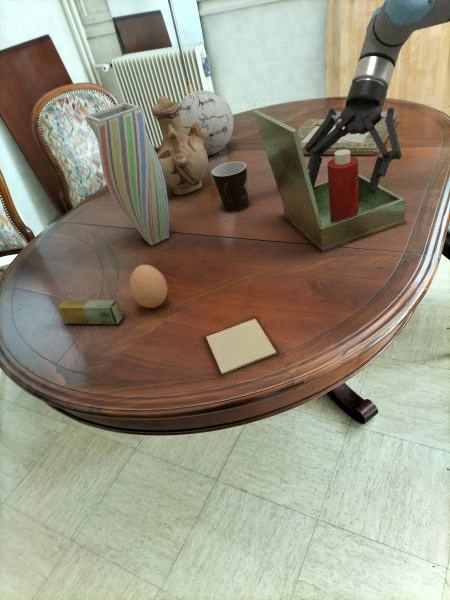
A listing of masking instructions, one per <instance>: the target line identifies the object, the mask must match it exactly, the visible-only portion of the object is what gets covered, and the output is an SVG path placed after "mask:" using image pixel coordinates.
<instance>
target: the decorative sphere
mask: <svg viewBox="0 0 450 600" xmlns="http://www.w3.org/2000/svg"><path fill="white" fill-rule="evenodd" d="M179 101H180V102H179V103H178V107H179V114H180V118H181V122H182V126H183V129H184V132H185V134H186V135H188V134H189V132H190V127H191V125H192V124H193V123H196V122H197V123H199V124H200V126H201V127H202V128H204V129H206V130H211V131H212V134H210V135H209V136H208V137H207V138H206V139H205V141H204V148H205V150H206V153H207V157H208V156H212V155H216V154H218V153H219V152H221V151H222V150H223V149H224V148H225V147H226V146H227V145H228V144H229V142H230V140H231V138H232V136H233V132H234V128H235V127H234V125H235V124H234V116H233V112H232V109H231V108H230V106H229V104H228V102H227V101H226V100H225V99H224V98H223V97H222V96H221V95H219V94H217V92H214V91H211V90H205V89H204V90H203V89H202V90H201V89H200V90H195V91H193V92H190V93H187V95H185V96H184V97H183V98H182V99H181V100H179Z"/></svg>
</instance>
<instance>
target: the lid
mask: <svg viewBox="0 0 450 600" xmlns="http://www.w3.org/2000/svg"><path fill="white" fill-rule="evenodd" d="M252 113H253V117H254V119H255V123H256V125H257V129H258V131H259V135H260V137H261V141H262V144H263V147H264V150H265V153H266V156H267V160H268V162H269V165H270V169H271V172H272V176H273V178H274V181H275V184H276V187H277V191H278V193H279V196H281V198H282V197H283V198H284V199H285V200H287V201H288V202H289V203H290V204H291V205H293V206H294V207H295V208H296V209H297V210H298V211H300V212H301V213H302V214H303V215H304V216H306V217H307V218H308V219H309V220H310V221H312V222H313V223H314V224H315V225H316V226H317V227H321V226H322V222H321V219H320V215H319V211H318V207H317V204H316V200H315V196H314V192H313V189H312V185H311V181H310V177H309V169H308V167H307V166H308V165H307V162H306V157H305V154H303V151H302V147H301V143H300V140H299V136H298V132H297V128H294V127H292V126H290V125H288V124H286V123H284V122H283V121H280V120H278V119H276V118H274V117H272V116H270V115H268V114H266V113H264V112H262V111H260V110H258V109H255V110H253V111H252Z"/></svg>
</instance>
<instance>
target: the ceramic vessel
mask: <svg viewBox="0 0 450 600" xmlns="http://www.w3.org/2000/svg"><path fill="white" fill-rule="evenodd" d="M178 104H179V103H178V102H177V101H171V100H169V99H168V97H167V96H165V95H161V96H159V98H158V100H157V103H156V104H155V105H154V106H153V107H151V112H152V115H153V116H154V118H155V119H156V121H157V123H158V126H159V129H160V133H161V135H162V140H161V143H160V145H159V146H158V147H157V146H154V145H153V144H152V146H153V148H154V150H155V153H156V155H157V157H158V160H159V163H160V166H161V169H162V172H163V176H164V180H165V185H166V189H167V188H169V189H172V191H173V193H174V194H175V195H178V196H181V195H182V196H183V195H187V194H190V193H192V192H194V191H196V190H198V189H200V188H202V187H203V181H202V179H203V178H204V177H205V176H206V174H207V172H208V165H209V157H208V156H207V153H206V150H205V148H204V141H205V139H206V138H207V137H208V136H209V135H210V134H212V131H211V130H206V129H204V128H202V127H201V126H200V124H199V123H197V122H196V123H193V124H192V125H191V127H190V132H189V134H188V135H186V134H185V132H184V129H183V126H182V122H181V118H180V114H179V107H178Z"/></svg>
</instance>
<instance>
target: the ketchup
mask: <svg viewBox="0 0 450 600" xmlns="http://www.w3.org/2000/svg"><path fill="white" fill-rule="evenodd" d="M326 166H327V181H328V185H329V204H330V217H331V219H333V220H335V221H339V220H342V219H345V218H348V217H350V216H353V215H356V214H359V208H358V174H359V159H358V158H357V157H356V156H353V155H350V150H346V149H343V150H338V151H336V152H335V155H334V158H332V159H330V160H328V161H327V165H326Z"/></svg>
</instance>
